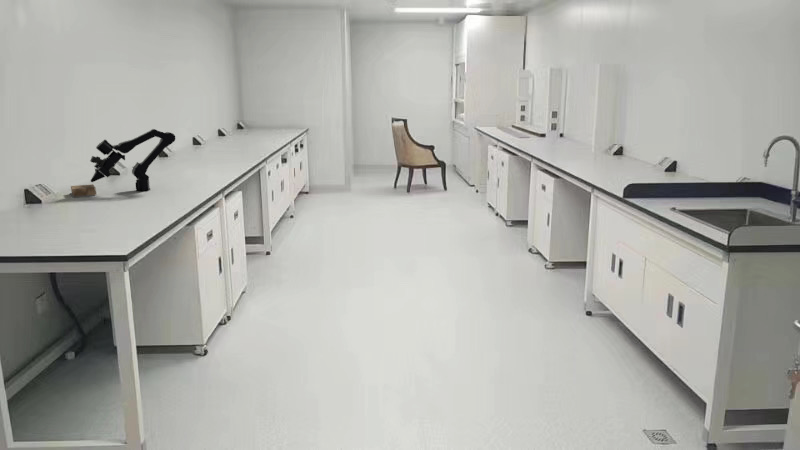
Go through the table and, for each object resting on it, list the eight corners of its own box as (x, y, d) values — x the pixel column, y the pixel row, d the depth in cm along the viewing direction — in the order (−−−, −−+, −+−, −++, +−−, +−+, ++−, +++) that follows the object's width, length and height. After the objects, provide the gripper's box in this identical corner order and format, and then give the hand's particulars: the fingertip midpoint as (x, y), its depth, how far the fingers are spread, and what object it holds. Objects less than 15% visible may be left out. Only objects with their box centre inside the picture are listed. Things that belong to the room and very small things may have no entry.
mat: (91, 192, 348) (91, 191, 348) (95, 195, 336) (95, 195, 336) (69, 193, 342) (69, 193, 342) (72, 197, 331) (72, 196, 331)
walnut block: (92, 184, 347) (70, 185, 341) (95, 187, 337) (73, 189, 331) (93, 191, 347) (71, 193, 342) (96, 194, 338) (73, 196, 332)
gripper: (96, 149, 347) (76, 169, 344) (101, 152, 332) (80, 174, 328) (113, 162, 353) (93, 183, 350) (118, 166, 338) (98, 187, 334)
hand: (91, 181), depth 340 cm, fingers closed
